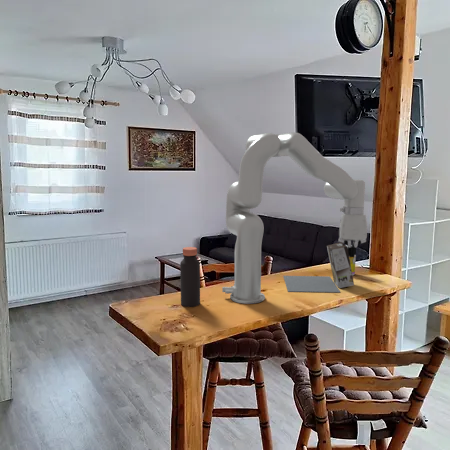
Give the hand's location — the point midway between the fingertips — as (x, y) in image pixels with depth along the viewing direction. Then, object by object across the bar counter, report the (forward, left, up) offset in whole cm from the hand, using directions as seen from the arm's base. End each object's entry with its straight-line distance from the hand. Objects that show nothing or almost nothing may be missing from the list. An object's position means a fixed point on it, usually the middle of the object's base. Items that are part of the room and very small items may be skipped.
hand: (351, 256), depth 169 cm
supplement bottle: (+3, +17, -12) cm, 21 cm away
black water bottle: (-61, -26, -12) cm, 68 cm away
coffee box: (-2, 0, -12) cm, 12 cm away
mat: (-16, +1, -12) cm, 20 cm away
